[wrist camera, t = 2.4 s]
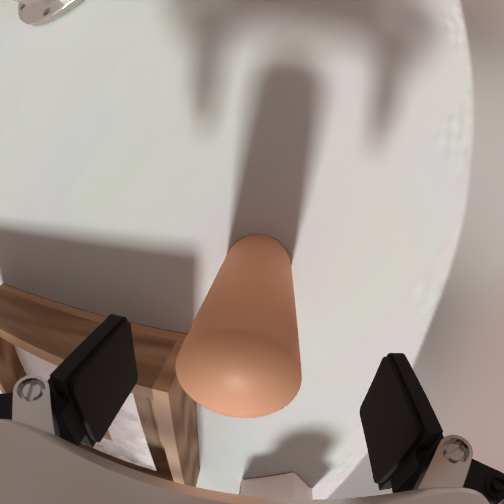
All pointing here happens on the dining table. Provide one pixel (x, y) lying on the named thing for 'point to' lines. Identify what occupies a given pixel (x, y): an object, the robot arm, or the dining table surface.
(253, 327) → the peg
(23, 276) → the dining table surface
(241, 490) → the medicine bottle
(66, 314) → the open box
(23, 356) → the bore plate
